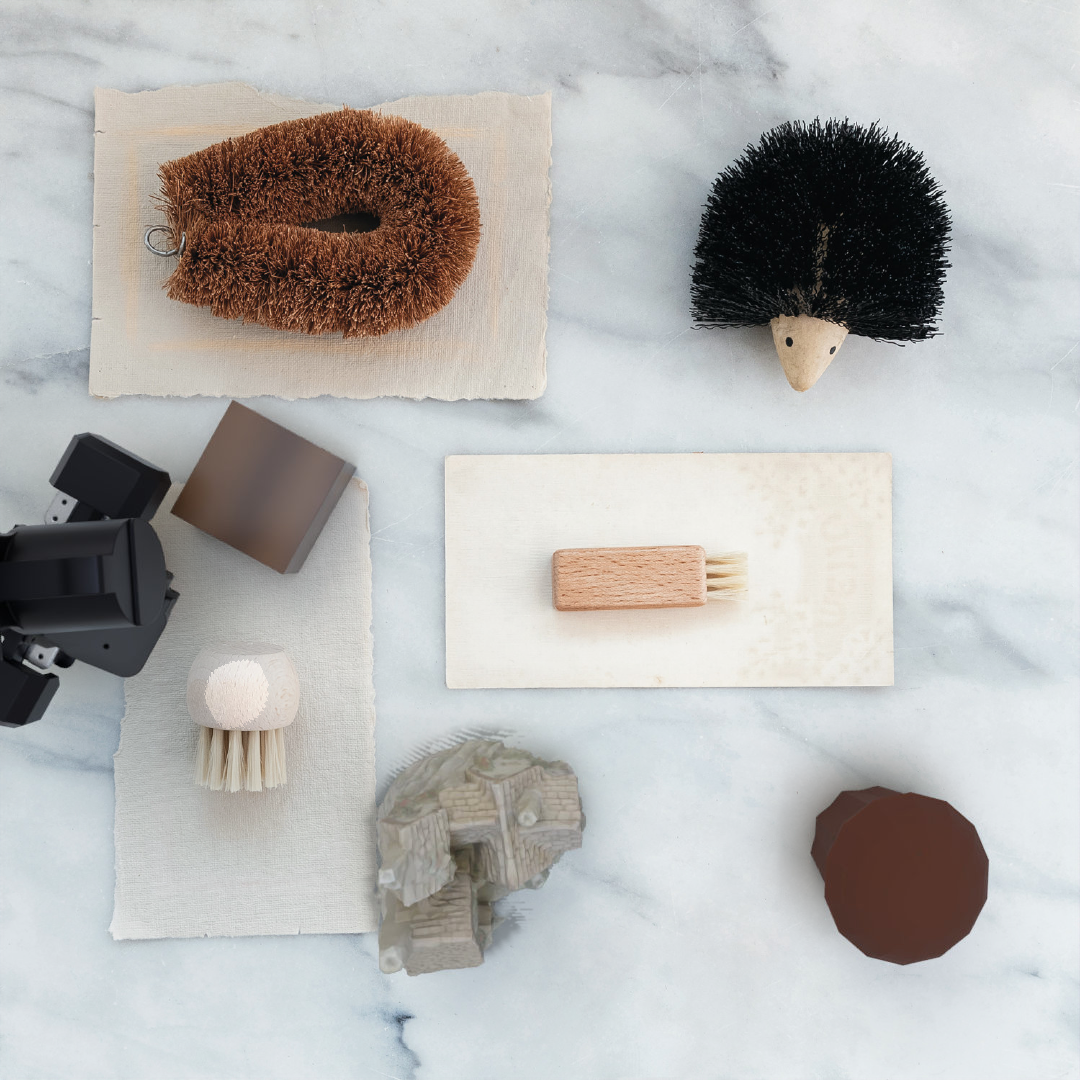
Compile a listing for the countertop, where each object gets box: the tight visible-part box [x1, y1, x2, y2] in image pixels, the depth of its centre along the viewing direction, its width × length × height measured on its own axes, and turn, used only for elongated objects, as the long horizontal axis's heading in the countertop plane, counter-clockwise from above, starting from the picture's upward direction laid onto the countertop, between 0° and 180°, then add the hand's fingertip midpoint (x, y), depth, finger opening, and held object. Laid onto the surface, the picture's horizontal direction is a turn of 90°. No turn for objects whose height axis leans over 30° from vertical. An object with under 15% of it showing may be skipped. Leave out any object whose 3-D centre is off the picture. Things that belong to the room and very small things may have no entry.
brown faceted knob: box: [810, 785, 990, 967], centre depth 59 cm, size 12×11×10 cm
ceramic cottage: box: [374, 738, 587, 977], centre depth 57 cm, size 16×16×15 cm
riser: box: [169, 399, 358, 575], centre depth 61 cm, size 9×9×5 cm
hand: (119, 575), depth 62 cm, fingers closed on boat, 3 cm apart
